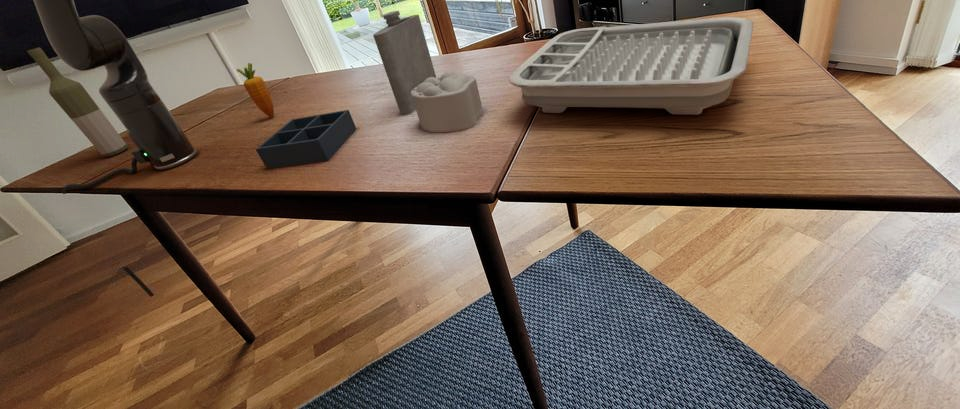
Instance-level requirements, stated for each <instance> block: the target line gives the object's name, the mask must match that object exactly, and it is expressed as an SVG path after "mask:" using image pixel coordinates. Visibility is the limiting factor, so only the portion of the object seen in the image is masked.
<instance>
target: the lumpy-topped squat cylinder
mask: <svg viewBox="0 0 960 409" xmlns="http://www.w3.org/2000/svg"><path fill="white" fill-rule="evenodd" d="M411 96H412V99H413V102H414V105H415V112H416V115H417V118H418V121H419V124H420V127H421V129H423V131H427V132H431V133H447V132H458V131H463V130H466V129H469V128H472V127H473V126H474V125H475V124H476V122H477V120H478V119H479V118H480V117H481V116H482V115H483V114H484V109H483V105H482V100H481V95H480V91H479V87H478V83H477V78H476V77H475V76H473V75H466V74H462V73H460V74H459V73H458V74H456V72H453V71H446V72H444V73H443V74H441V76H440V77H436V78H435V77H429V78H427V79H426V80H425V81H424V82H423V83H421V84H420V85H418V86H417V87H415V88H414V89H413V90H412V91H411Z"/></svg>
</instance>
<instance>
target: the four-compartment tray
mask: <svg viewBox="0 0 960 409" xmlns="http://www.w3.org/2000/svg"><path fill="white" fill-rule="evenodd" d="M356 130H357V127H356V123H355V121H354V119H353V117H352V115H351V112H350V110H349V109H345V110H340V111H334V112H327V113H320V114H315V115H314V114H313V115H309V116H303V117H297V118H292V119H290V121H288V122H286V123H285V124H284V125H283V126H282V127H281V128H279V129H278V130H277V131H276V132H275V133H273V134H272V135H271V136H270V137H268V138H267V139H266V140H265V141H263V142H262V143H261V144H260V145H259V146H258V147H256V148H255V151H256V153H257V155H258V156H259V158H260V160H261V161H262V163H263V165H264V166H265V168H266V169H267V170H268V169H276V168H283V167H291V166H297V165H298V166H299V165H305V164H313V163H314V164H315V163H319V162H328V161H330V159H331V158H332V157H333V156H334V155H335V154H336V152H337V151H339V149H340V148H341V147H342V146H343V145H344V144H345V143H346V141H347V140H348V139H349V138H350V137H351V136H352V135H353V134H354V132H355V131H356Z"/></svg>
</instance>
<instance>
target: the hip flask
mask: <svg viewBox="0 0 960 409" xmlns="http://www.w3.org/2000/svg"><path fill="white" fill-rule="evenodd" d="M400 15H401V13H400V10H393V11H390V12H387V13H384V14H382V17H383V20H385V23H386V25H387V26H385V27H383V28H381V29H380V30H377V31H376V32H375V33H373V34H372V36H373V39H374V42H375V44H376V48H377V51H378V53H379V56H380V59H381V62H382V65H383V68H384V71H385V73H386V77H387V79H388V82H389V85H390V89H391V91H392V93H393V94H392V95H393V96H394V99H395V102H396V106H397V108H398V111H399V114H400V115H401V116H406V115H409V114H412V113H413V112H414V111H416V109H415V105H414V102H413V99H412V96H411V91H412V90H413V89H414V88H415V87H417V86H418V85H420V84H421V83H423V82H424V81H425V80H426V79H427V78H429V77H435V78H437V75H436V71H435V68H434V65H433V64H434V63H433V60H432V57H431V54H430V49H429V46H428V42H427V40H426V36H425V32H424V29H423V26H422V21H421V19H420V18H421V17H420V15H419V14H412V15H408V16H405V17H400Z"/></svg>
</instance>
